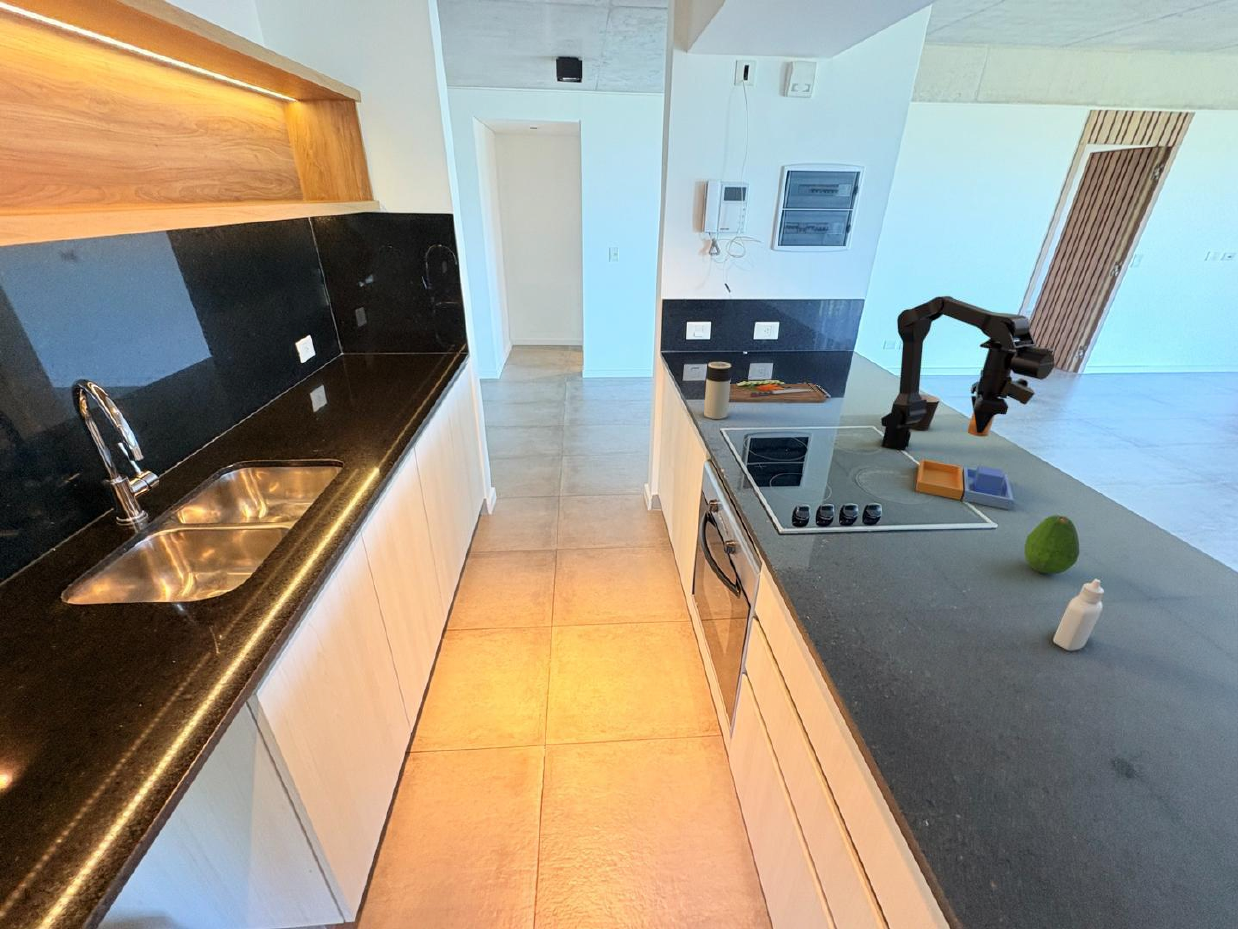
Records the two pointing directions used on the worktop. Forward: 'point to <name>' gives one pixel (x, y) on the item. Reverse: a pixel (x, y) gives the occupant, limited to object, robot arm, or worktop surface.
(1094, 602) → the eye dropper bottle
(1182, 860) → the worktop surface
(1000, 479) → the blue block
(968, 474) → the blue tray
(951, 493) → the amber tray
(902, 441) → the robot arm
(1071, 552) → the avocado
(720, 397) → the travel mug
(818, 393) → the chopping board
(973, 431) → the orange cylinder
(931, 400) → the coffee mug
